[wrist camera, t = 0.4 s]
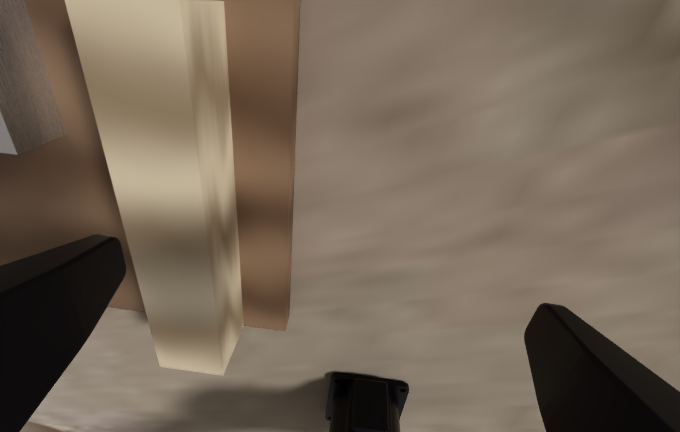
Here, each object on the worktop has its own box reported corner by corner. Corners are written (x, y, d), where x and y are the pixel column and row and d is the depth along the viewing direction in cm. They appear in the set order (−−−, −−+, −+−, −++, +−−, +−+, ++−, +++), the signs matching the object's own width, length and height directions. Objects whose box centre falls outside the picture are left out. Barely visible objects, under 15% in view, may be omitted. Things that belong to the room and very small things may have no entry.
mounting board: (289, 315, 27) (284, 331, 25) (18, 278, 27) (0, 292, 26) (300, -17, 16) (294, -19, 14) (-152, -70, 16) (-198, -76, 15)
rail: (243, 325, 25) (223, 375, 22) (188, 318, 25) (160, 366, 22) (223, 1, 15) (179, -1, 12) (132, -10, 15) (60, -15, 12)
